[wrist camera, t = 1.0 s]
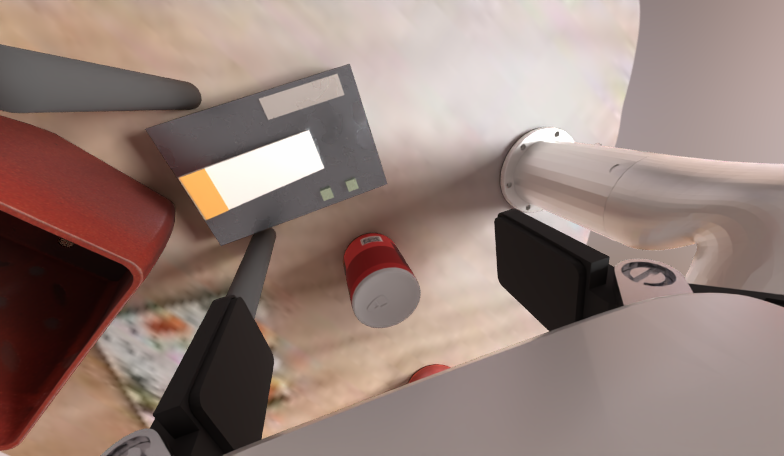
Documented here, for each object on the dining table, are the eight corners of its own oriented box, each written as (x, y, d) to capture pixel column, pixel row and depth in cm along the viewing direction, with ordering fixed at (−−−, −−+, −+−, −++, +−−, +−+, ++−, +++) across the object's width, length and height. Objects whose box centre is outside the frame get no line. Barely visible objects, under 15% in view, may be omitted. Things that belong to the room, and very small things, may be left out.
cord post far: (270, 222, 37) (232, 332, 19) (279, 240, 38) (252, 358, 20) (250, 230, 37) (192, 348, 19) (260, 247, 38) (214, 374, 20)
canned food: (331, 261, 41) (337, 309, 31) (369, 220, 40) (388, 256, 30) (370, 287, 44) (387, 339, 35) (406, 250, 43) (434, 292, 34)
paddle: (305, 130, 30) (309, 130, 29) (320, 167, 32) (324, 168, 30) (178, 176, 25) (177, 178, 24) (204, 217, 27) (205, 220, 26)
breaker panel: (345, 68, 32) (351, 61, 27) (380, 176, 38) (391, 187, 33) (164, 126, 30) (134, 130, 25) (229, 232, 36) (216, 253, 31)
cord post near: (192, 78, 29) (9, 33, 12) (206, 104, 31) (60, 102, 13) (166, 86, 29) (-63, 53, 11) (181, 112, 30) (-4, 121, 12)
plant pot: (-81, 230, 29) (-517, 367, 13) (15, 72, 26) (-386, 25, 11) (133, 313, 37) (10, 456, 22) (220, 199, 34) (151, 271, 19)
